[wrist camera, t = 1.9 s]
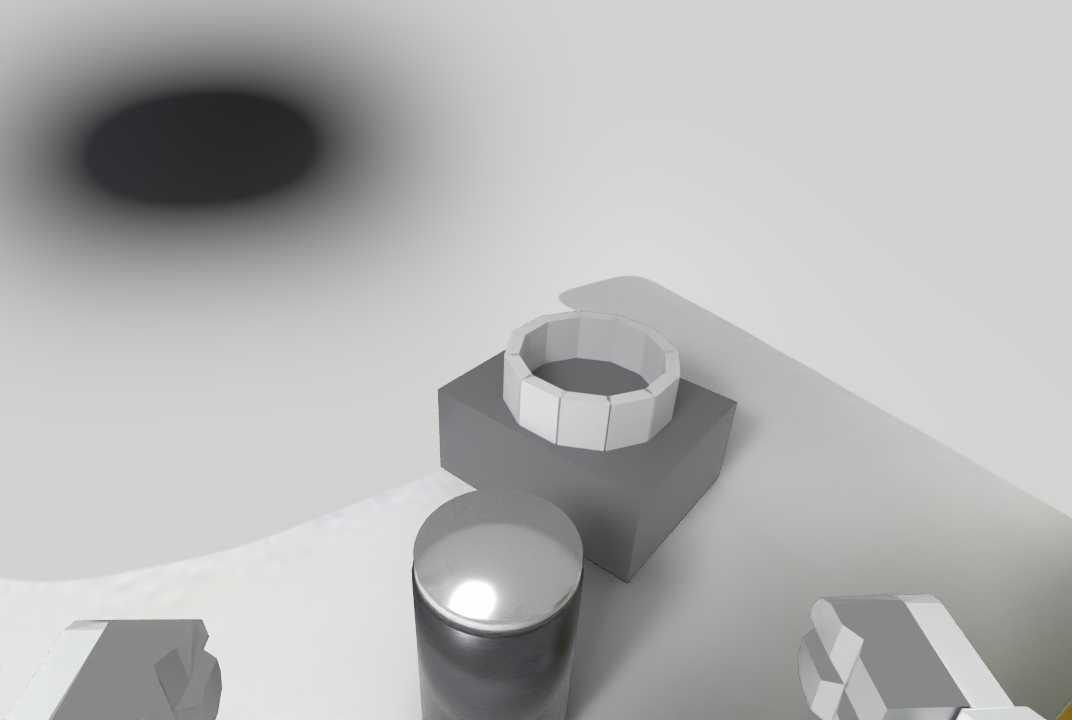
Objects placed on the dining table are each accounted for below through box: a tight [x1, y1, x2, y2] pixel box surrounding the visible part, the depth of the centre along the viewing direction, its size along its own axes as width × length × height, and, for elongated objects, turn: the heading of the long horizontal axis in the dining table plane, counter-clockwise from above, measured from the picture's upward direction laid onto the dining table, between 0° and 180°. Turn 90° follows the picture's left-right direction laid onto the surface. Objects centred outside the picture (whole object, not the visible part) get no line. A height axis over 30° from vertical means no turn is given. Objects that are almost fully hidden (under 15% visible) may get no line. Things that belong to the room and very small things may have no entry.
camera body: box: [438, 311, 737, 583], centre depth 41 cm, size 14×11×9 cm
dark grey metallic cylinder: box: [412, 489, 583, 720], centre depth 28 cm, size 6×6×10 cm
